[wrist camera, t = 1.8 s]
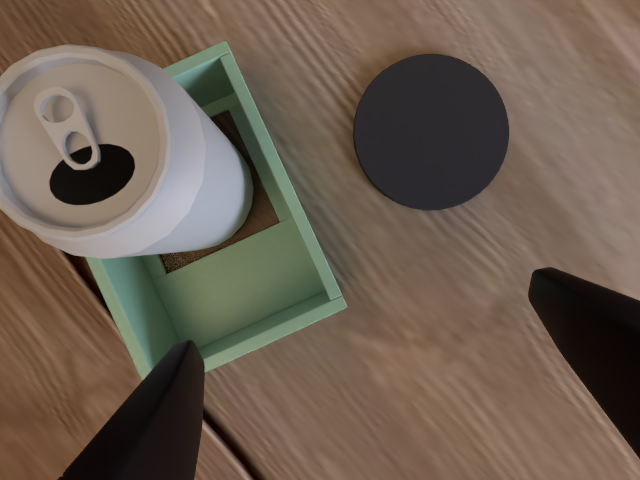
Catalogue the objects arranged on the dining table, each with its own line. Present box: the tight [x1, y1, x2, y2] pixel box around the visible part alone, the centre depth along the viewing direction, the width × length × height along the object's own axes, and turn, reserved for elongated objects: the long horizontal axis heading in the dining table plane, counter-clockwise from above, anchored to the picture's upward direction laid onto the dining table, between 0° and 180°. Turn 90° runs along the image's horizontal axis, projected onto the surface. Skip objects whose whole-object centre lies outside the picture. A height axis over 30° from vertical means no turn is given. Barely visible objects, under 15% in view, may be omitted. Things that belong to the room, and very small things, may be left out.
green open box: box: [85, 41, 347, 381], centre depth 21 cm, size 15×11×4 cm
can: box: [0, 44, 254, 259], centre depth 17 cm, size 8×8×12 cm
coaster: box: [353, 54, 509, 210], centre depth 23 cm, size 10×10×1 cm
